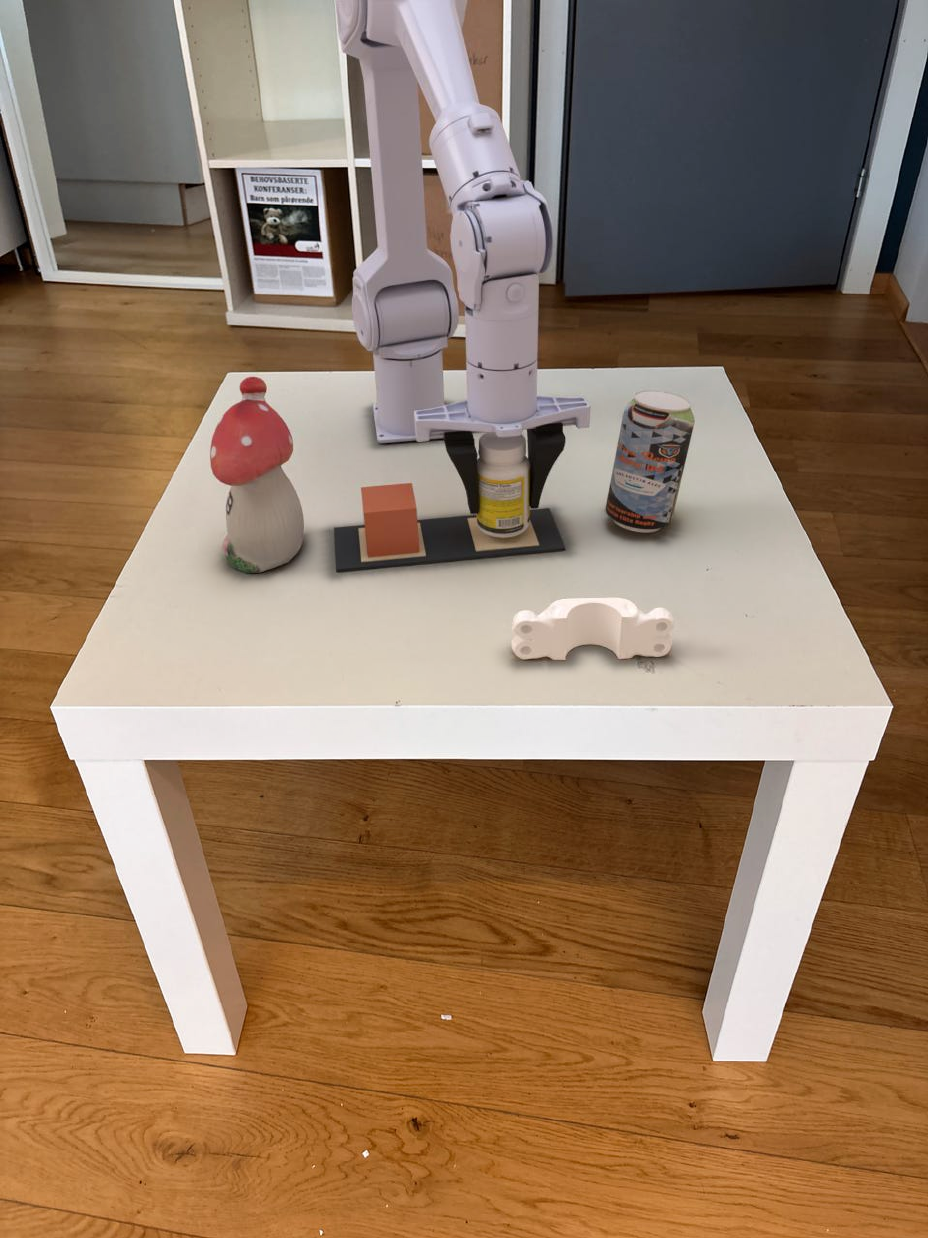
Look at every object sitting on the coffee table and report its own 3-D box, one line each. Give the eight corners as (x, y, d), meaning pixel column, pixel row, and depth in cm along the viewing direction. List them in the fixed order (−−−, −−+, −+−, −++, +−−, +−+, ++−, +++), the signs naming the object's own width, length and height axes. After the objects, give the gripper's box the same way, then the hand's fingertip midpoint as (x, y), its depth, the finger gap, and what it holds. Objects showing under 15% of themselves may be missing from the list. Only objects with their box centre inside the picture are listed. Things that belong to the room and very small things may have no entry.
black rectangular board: (334, 530, 90) (334, 526, 89) (549, 510, 91) (549, 506, 91) (336, 572, 84) (336, 568, 84) (565, 550, 86) (565, 546, 85)
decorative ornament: (267, 519, 91) (241, 365, 83) (327, 532, 89) (308, 376, 80) (207, 570, 85) (172, 409, 76) (271, 586, 82) (243, 422, 73)
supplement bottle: (496, 506, 90) (495, 422, 85) (539, 521, 88) (541, 435, 83) (466, 529, 87) (463, 443, 82) (510, 544, 85) (510, 457, 80)
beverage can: (591, 526, 89) (598, 402, 82) (638, 495, 93) (648, 375, 86) (649, 550, 85) (662, 423, 78) (695, 517, 90) (711, 394, 82)
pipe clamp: (666, 637, 75) (671, 596, 73) (672, 658, 73) (677, 615, 71) (510, 640, 76) (510, 599, 73) (511, 661, 74) (511, 619, 71)
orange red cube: (365, 530, 88) (360, 486, 86) (414, 526, 89) (411, 482, 86) (367, 557, 85) (363, 512, 82) (419, 552, 85) (416, 507, 83)
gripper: (416, 384, 74) (425, 536, 82) (602, 369, 76) (593, 521, 84) (408, 349, 80) (417, 496, 88) (581, 336, 81) (575, 481, 89)
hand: (502, 505), depth 86 cm, fingers closed on supplement bottle, 5 cm apart
